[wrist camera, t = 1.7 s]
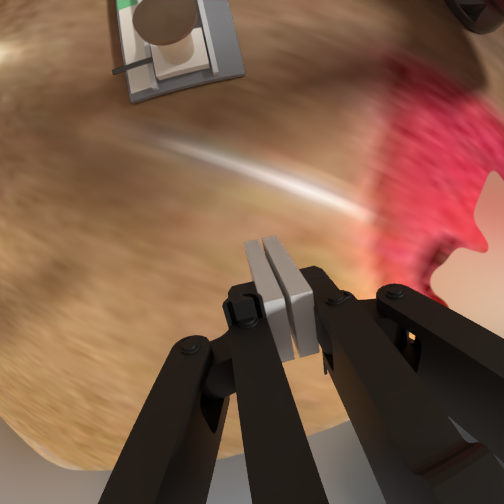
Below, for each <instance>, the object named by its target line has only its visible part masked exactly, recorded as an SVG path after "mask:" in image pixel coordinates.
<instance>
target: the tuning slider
mask: <svg viewBox="0 0 504 504" xmlns="http://www.w3.org/2000/svg"><path fill="white" fill-rule="evenodd" d="M132 22H133V26H134V29H135V30H136V31H137V33H138V34H139V36H140V37H141V38H142V39H143V40H144V41H145V42H147V43H149V44H150V45H151V51H152V57H149V58H146V59H143V60H140V61H136V62H133V63H131V64H128V65H125V66H122V67H119V68H116V69H114V70H112V73H113V75H116V74H118V73H121V72H124V71H127V70H130V69H133V68H136V67H139V66H142V65H145V64H148V63H151V62H154V68H155V73H156V77H157V78H158V79H159V81H160V80H163V79H167V78H170V77H174V76H178V75H182V74H186V73H190V72H194V71H198V70H202V69H207V68H209V61H208V57H207V52H206V47H205V43H204V38H203V34H202V29H201V27H200V28H195V29H194V27H195V25H196V22H197V11H196V4H195V2H194V0H142V1H141V2H140V3H139V4H138V6H137V7H136V9H135V11H134V13H133V18H132Z"/></svg>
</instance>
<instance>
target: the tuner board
mask: <svg viewBox="0 0 504 504" xmlns="http://www.w3.org/2000/svg"><path fill="white" fill-rule="evenodd" d="M141 1H142V0H116V9H117V18H118V27H119V35H120V42H121V49H122V56H123V62H124V66H125V65H128V64H131V63H133V62H136V61H140V60H143V59H146V58H149V57H152V51H151V45H150V44H149V43H147V42H145V41H144V40H143V39H142V38H141V37H140V36H139V34H138V33H137V31H136V30H135V29H134V26H133V22H132V18H133V13H134V11H135V9H136V7H137V6H138V4H139V3H140V2H141ZM194 2H195V4H196V11H197V22H196V25H195V27H194V29H195V28H200V27H201V29H202V34H203V38H204V43H205V47H206V52H207V57H208V61H209V68H207V69H202V70H198V71H194V72H190V73H186V74H182V75H178V76H174V77H170V78H167V79H163V80H160V81H159V79H158V78H157V77H156V73H155V68H154V62H151V63H148V64H145V65H142V66H139V67H136V68H133V69H130V70H127V71H125V74H126V80H127V86H128V91H129V97H130V102H131V103H133V104H134V103H138V102H141V101H144V100H147V99H150V98H153V97H157V96H160V95H164V94H167V93H171V92H174V91H178V90H182V89H186V88H190V87H194V86H198V85H203V84H207V83H212V82H216V81H221V80H226V79H232V78H237V77H243V76H245V69H244V65H243V61H242V57H241V52H240V48H239V44H238V40H237V36H236V31H235V27H234V23H233V19H232V15H231V11H230V7H229V3H228V0H194Z"/></svg>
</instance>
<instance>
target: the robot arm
mask: <svg viewBox="0 0 504 504" xmlns="http://www.w3.org/2000/svg"><path fill="white" fill-rule="evenodd" d="M445 1H446V3H447V4H448V6H449V7H450V9H451V10H452V11H453V13H454V14H455V15H456V16H457V17H458V19H459V20H460V21H461V22H462V23H463V24H464V25H466V26H467V27H468V28H469V29H471V30H472V31H474V32H476V33H478V34H487V33H491V32H494V31H495V30H496V29H497V28H498V27H500V26H501V25H502V24H503V23H504V0H445ZM262 241H263V246H264V251H265V254H264V252H263V249H262V247H261V245H260V243H259V240H258V239H256V240H252V241H248V242H244V245H245V250H246V254H247V259H248V263H249V268H250V272H251V276H252V282H248V283H244V284H239V285H235V286H232V287H231V289H230V290H229V292H228V298H227V299H226V300H225V301H224V302H223V306H222V307H223V310H224V314H225V317H226V320H227V324H228V327H229V330H228V331H227V332H226V333H225V334H224V335H222V336H221V337H219V338H217V339H215V340H212V341H210V342H209V340H208V339H207V338H206V337H204V336H200V335H194V336H188V337H186V338H183V339H181V340H180V341H178V342H177V343H175V345H174V346H173V347H172V349H171V351H170V353H169V355H168V357H167V359H166V361H165V363H164V365H163V367H162V369H161V371H160V373H159V375H158V377H157V379H156V381H155V383H154V385H153V387H152V389H151V391H150V393H149V395H148V397H147V399H146V401H145V403H144V405H143V407H142V409H141V412H140V414H139V416H138V418H137V420H136V422H135V424H134V426H133V428H132V430H131V432H130V435H129V437H128V439H127V441H126V443H125V445H124V447H123V449H122V452H121V454H120V456H119V458H118V460H117V462H116V465H115V467H114V469H113V471H112V473H111V475H110V478H109V480H108V482H107V484H106V487H105V489H104V491H103V493H102V496H101V498H100V500H99V502H98V504H206V501H207V497H208V493H209V488H210V483H211V480H212V475H213V471H214V467H215V463H216V458H217V454H218V450H219V445H220V441H221V436H222V432H223V428H224V423H225V419H226V414H227V410H228V406H229V401H230V395H231V394H233V393H235V392H236V395H237V403H238V410H239V418H240V425H241V432H242V439H243V446H244V453H245V460H246V466H247V473H248V479H249V486H250V492H251V498H252V504H329V502H328V499H327V497H326V494H325V491H324V488H323V485H322V482H321V479H320V476H319V473H318V470H317V467H316V464H315V461H314V458H313V456H312V452H311V450H310V446H309V443H308V440H307V437H306V434H305V431H304V428H303V425H302V422H301V419H300V416H299V413H298V410H297V407H296V404H295V401H294V398H293V395H292V392H291V389H290V386H289V383H288V380H287V377H286V374H285V371H284V368H283V365H282V362H285V361H289V360H293V359H295V358H294V352H293V346H292V340H291V335H292V338H293V341H294V343H295V346H296V348H297V351H298V353H299V356H300V358H301V357H304V356H308V355H312V354H315V353H319V344H320V346H321V348H322V353H323V364H324V374H325V375H326V374H327V369H328V372H329V374H330V376H331V378H332V380H333V383H334V385H335V387H336V389H337V391H338V394H339V396H340V398H341V400H342V403H343V405H344V407H345V409H346V411H347V414H348V416H349V418H350V420H351V423H352V425H353V427H354V429H355V432H356V434H357V436H358V438H359V441H360V443H361V445H362V447H363V450H364V452H365V454H366V457H367V459H368V461H369V464H370V466H371V468H372V471H373V473H374V475H375V477H376V480H377V482H378V485H379V487H380V489H381V491H382V494H383V496H384V499H385V501H386V503H387V504H504V469H503V468H502V466H501V465H500V463H499V462H498V460H497V459H496V457H495V456H497V457H498V458H499V459H500V460H502V461H503V462H504V339H503V338H501V337H500V336H498V335H496V334H494V333H492V332H491V331H489V330H487V329H486V328H484V327H482V326H480V325H478V324H477V323H474V322H473V321H471V320H469V319H467V318H466V317H464V316H462V315H460V314H458V313H457V312H455V311H453V310H451V309H449V308H447V307H445V306H444V305H442V304H440V303H438V302H436V301H434V300H432V299H430V298H429V297H427V296H425V295H423V294H421V293H419V292H417V291H415V290H413V289H411V288H409V287H407V286H405V285H402V284H388V285H385V286H382V287H381V288H379V289H378V291H377V293H376V299H367V300H357V299H356V298H355V296H354V295H353V294H351V293H350V292H348V291H344V290H339V289H338V287H337V286H336V285H335V284H334V283H333V281H332V280H331V279H330V278H329V277H328V275H326V273H325V272H324V271H323V269H321V268H319V267H316V266H311V267H307V268H303V269H298V268H297V266H296V265H295V263H294V262H293V260H292V259H291V257H290V256H289V254H288V253H287V251H286V250H285V248H284V247H283V245H282V244H281V242H280V241H279V239H278V238H277V236H276V235H274V236H269V237H265V238H262ZM409 332H411V333H412V334H414V335H415V340H413V339H411V338H409ZM290 333H291V334H290ZM318 342H319V343H318ZM448 416H449V417H450V418H451V419H452V420H454V421H455V422H456V423H457V424H458V425H459V426H461V427H462V428H463V429H464V430H466V431H467V432H468V433H469V434H470V435H471V436H473V437H474V438H475V439H476V440H477V441H479V442H476V443H468V442H466V441H465V440H464V439H463V438H462V436H461V435H460V433H459V432H458V430H457V429H456V428H455V426H454V425H453V423H452V422H451V420H450V419H449V418H448ZM493 454H494V455H495V456H494V455H493Z"/></svg>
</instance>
